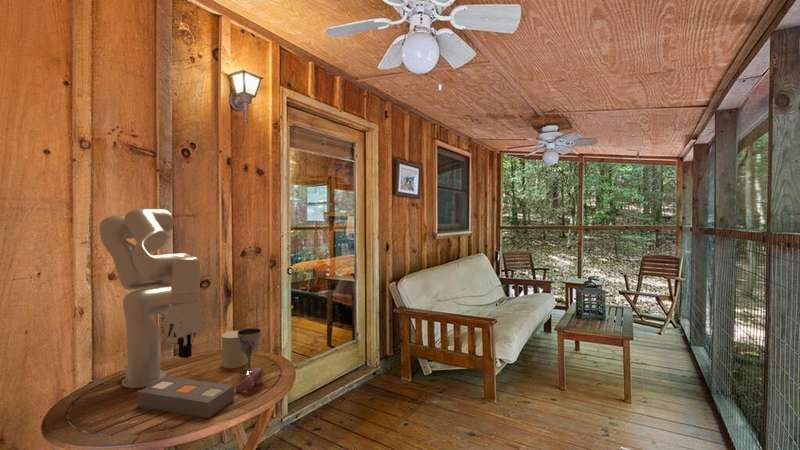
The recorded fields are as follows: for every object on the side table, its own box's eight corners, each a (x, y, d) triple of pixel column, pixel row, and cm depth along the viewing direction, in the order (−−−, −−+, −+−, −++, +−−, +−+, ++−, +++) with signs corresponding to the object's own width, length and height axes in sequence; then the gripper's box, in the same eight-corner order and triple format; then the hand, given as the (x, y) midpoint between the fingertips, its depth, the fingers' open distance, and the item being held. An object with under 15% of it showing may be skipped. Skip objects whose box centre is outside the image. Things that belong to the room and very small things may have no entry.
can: (242, 368, 143) (242, 336, 143) (217, 368, 143) (217, 336, 143) (251, 359, 153) (251, 329, 152) (227, 359, 152) (227, 329, 152)
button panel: (137, 406, 115) (137, 391, 115) (168, 389, 126) (168, 376, 126) (208, 418, 109) (208, 402, 109) (234, 399, 120) (234, 385, 119)
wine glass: (237, 377, 135) (237, 335, 135) (237, 369, 143) (237, 329, 142) (261, 374, 139) (261, 333, 138) (260, 366, 146) (260, 327, 145)
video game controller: (244, 398, 124) (253, 380, 123) (233, 391, 124) (241, 373, 124) (261, 385, 133) (269, 368, 133) (250, 378, 134) (258, 361, 133)
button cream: (150, 396, 118) (150, 387, 118) (162, 390, 122) (162, 381, 122) (162, 398, 117) (162, 389, 117) (174, 392, 121) (174, 382, 121)
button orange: (175, 400, 116) (174, 391, 116) (186, 394, 120) (186, 384, 120) (187, 402, 115) (187, 392, 114) (198, 395, 119) (198, 386, 119)
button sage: (200, 404, 113) (200, 394, 113) (210, 397, 118) (210, 388, 118) (212, 406, 112) (212, 396, 112) (223, 399, 117) (223, 390, 117)
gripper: (194, 291, 124) (193, 346, 125) (154, 302, 110) (153, 364, 111) (213, 293, 123) (213, 349, 124) (175, 304, 108) (175, 368, 109)
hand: (185, 356), depth 117 cm, fingers closed
